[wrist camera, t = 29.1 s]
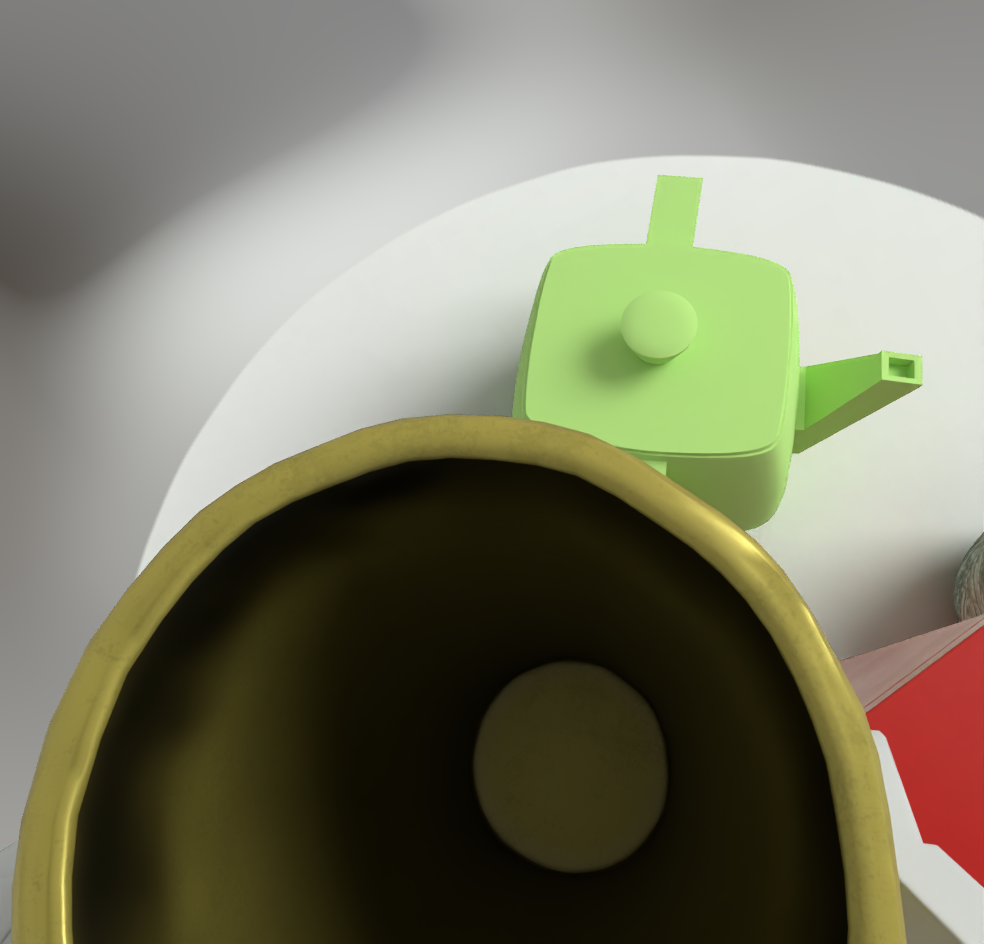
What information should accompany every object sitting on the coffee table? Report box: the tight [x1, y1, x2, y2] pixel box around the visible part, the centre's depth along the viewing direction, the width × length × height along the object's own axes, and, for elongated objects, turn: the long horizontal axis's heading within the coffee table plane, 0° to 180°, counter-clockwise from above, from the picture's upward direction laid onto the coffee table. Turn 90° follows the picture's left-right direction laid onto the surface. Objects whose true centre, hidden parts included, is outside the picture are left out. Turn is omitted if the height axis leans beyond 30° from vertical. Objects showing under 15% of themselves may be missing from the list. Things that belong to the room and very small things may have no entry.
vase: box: [11, 414, 907, 944], centre depth 11 cm, size 6×6×14 cm
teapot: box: [512, 175, 922, 531], centre depth 39 cm, size 18×20×13 cm
